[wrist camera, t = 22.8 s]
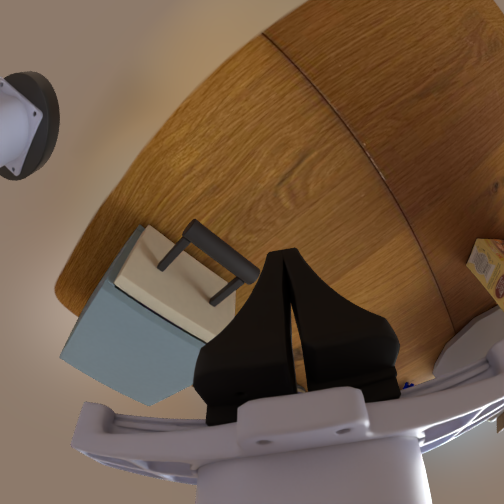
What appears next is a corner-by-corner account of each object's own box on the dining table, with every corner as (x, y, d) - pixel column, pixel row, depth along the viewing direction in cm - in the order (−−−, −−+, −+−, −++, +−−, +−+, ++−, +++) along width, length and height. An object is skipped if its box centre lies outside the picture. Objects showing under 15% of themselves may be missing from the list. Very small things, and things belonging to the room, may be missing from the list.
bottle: (514, 280, 29) (572, 364, 13) (507, 333, 38) (542, 399, 22) (423, 348, 35) (463, 451, 20) (435, 384, 44) (461, 457, 28)
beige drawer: (183, 181, 20) (159, 223, 15) (274, 256, 24) (282, 313, 19) (94, 299, 27) (71, 346, 21) (166, 344, 31) (155, 392, 25)
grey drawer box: (139, 224, 23) (100, 287, 16) (232, 292, 28) (229, 364, 20) (87, 301, 28) (58, 357, 21) (162, 348, 33) (149, 406, 26)
